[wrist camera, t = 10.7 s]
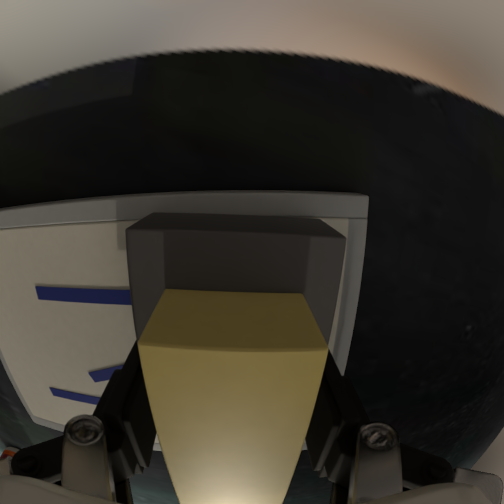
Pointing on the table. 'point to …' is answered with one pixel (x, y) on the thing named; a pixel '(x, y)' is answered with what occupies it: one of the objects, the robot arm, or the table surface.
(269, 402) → the eraser
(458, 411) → the table surface
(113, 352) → the whiteboard
